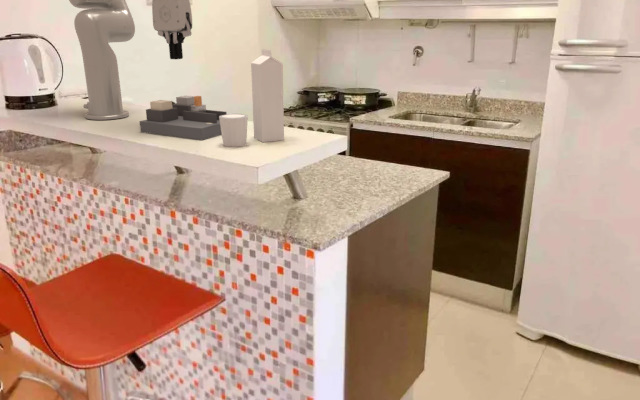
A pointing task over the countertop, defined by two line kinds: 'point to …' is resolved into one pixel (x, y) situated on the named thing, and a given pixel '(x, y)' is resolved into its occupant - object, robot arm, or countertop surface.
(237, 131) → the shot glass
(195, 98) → the toggle slider
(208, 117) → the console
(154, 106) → the cream button
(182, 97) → the grey button
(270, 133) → the milk
